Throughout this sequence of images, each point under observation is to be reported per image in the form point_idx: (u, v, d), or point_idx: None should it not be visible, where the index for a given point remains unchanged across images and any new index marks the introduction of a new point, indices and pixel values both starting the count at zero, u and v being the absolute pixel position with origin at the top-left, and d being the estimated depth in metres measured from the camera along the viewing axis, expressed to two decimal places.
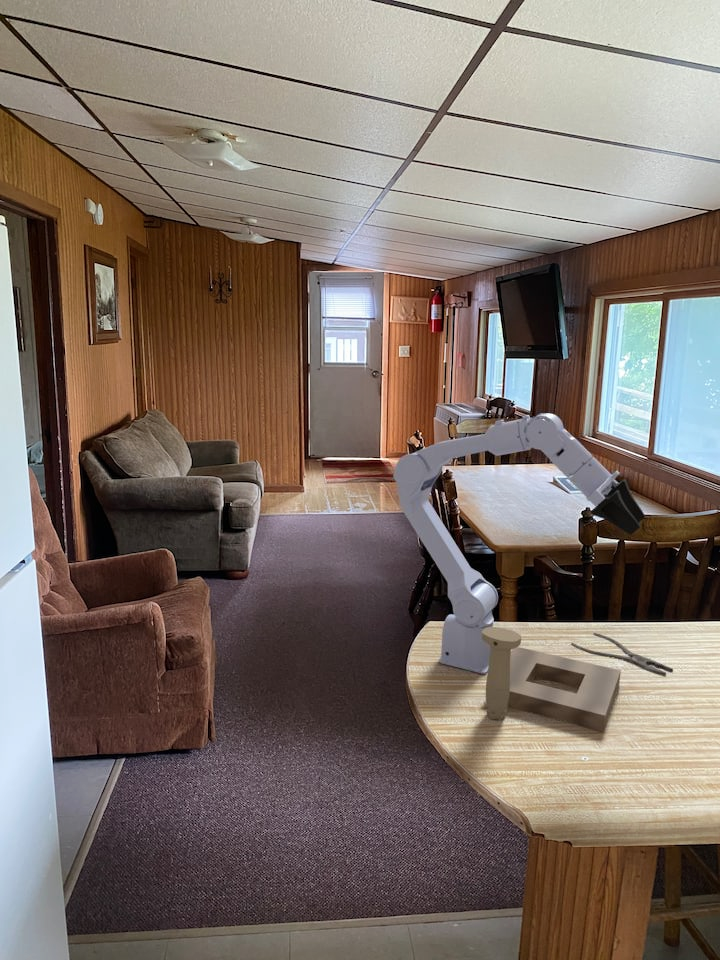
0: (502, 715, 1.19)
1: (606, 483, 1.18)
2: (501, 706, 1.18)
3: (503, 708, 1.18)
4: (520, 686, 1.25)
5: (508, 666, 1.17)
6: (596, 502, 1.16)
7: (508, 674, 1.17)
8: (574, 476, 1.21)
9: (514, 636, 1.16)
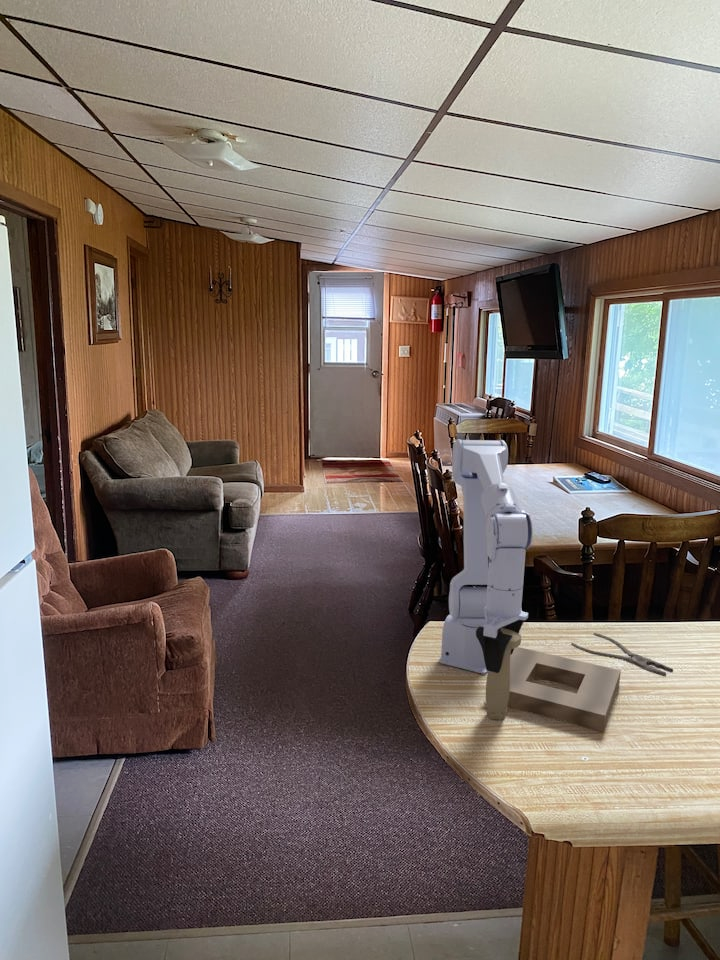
0: (502, 715, 1.19)
1: (509, 621, 1.13)
2: (501, 706, 1.18)
3: (503, 708, 1.18)
4: (520, 686, 1.25)
5: (508, 666, 1.17)
6: (487, 633, 1.10)
7: (508, 674, 1.17)
8: (493, 590, 1.14)
9: (514, 636, 1.16)
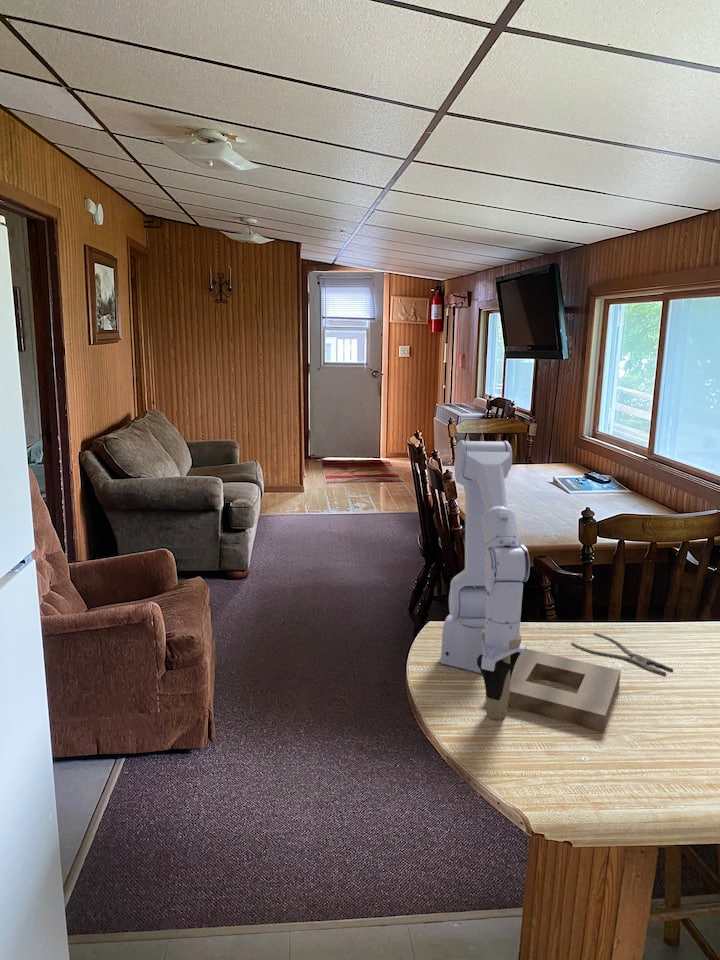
0: (502, 715, 1.19)
1: (507, 653, 1.14)
2: (501, 706, 1.18)
3: (503, 708, 1.18)
4: (520, 686, 1.25)
5: None
6: (485, 666, 1.12)
7: (508, 674, 1.17)
8: (491, 623, 1.15)
9: None
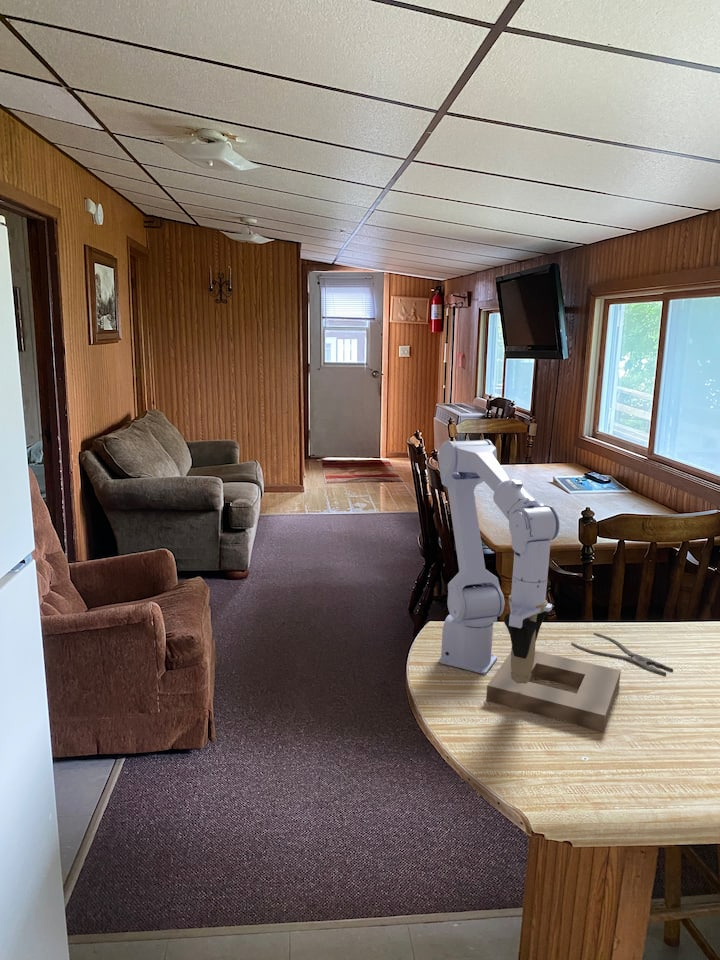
0: (527, 679, 1.21)
1: (534, 611, 1.16)
2: (526, 670, 1.20)
3: (528, 672, 1.21)
4: (520, 686, 1.25)
5: None
6: (512, 624, 1.14)
7: (534, 639, 1.20)
8: (518, 582, 1.17)
9: None
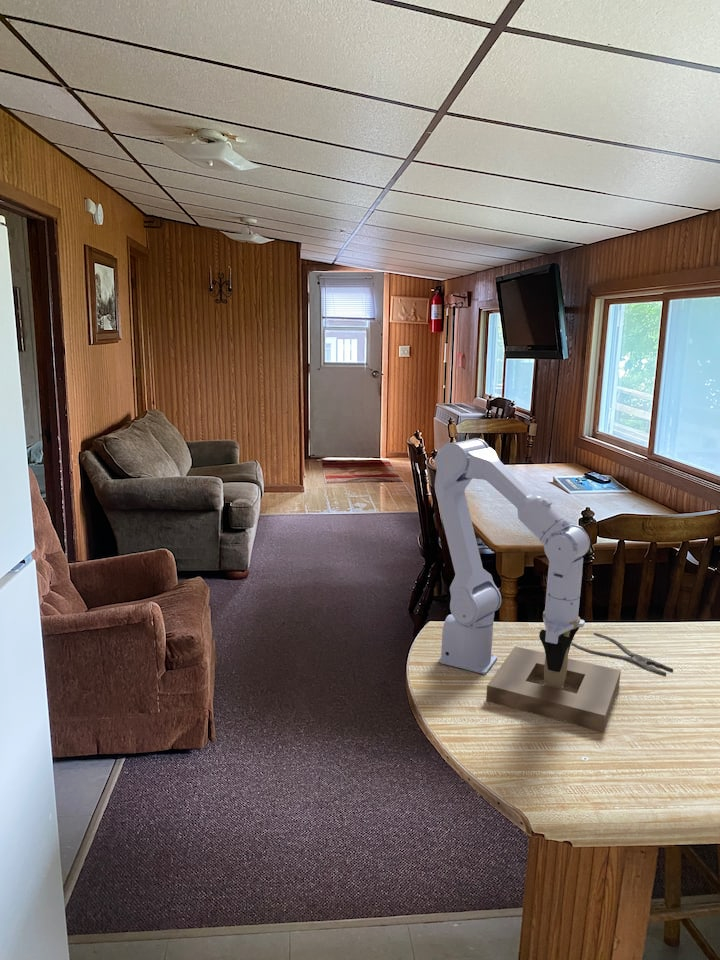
0: None
1: (568, 628, 1.22)
2: (559, 683, 1.26)
3: (561, 685, 1.27)
4: (520, 686, 1.25)
5: None
6: (548, 640, 1.20)
7: (567, 653, 1.26)
8: (552, 599, 1.23)
9: None
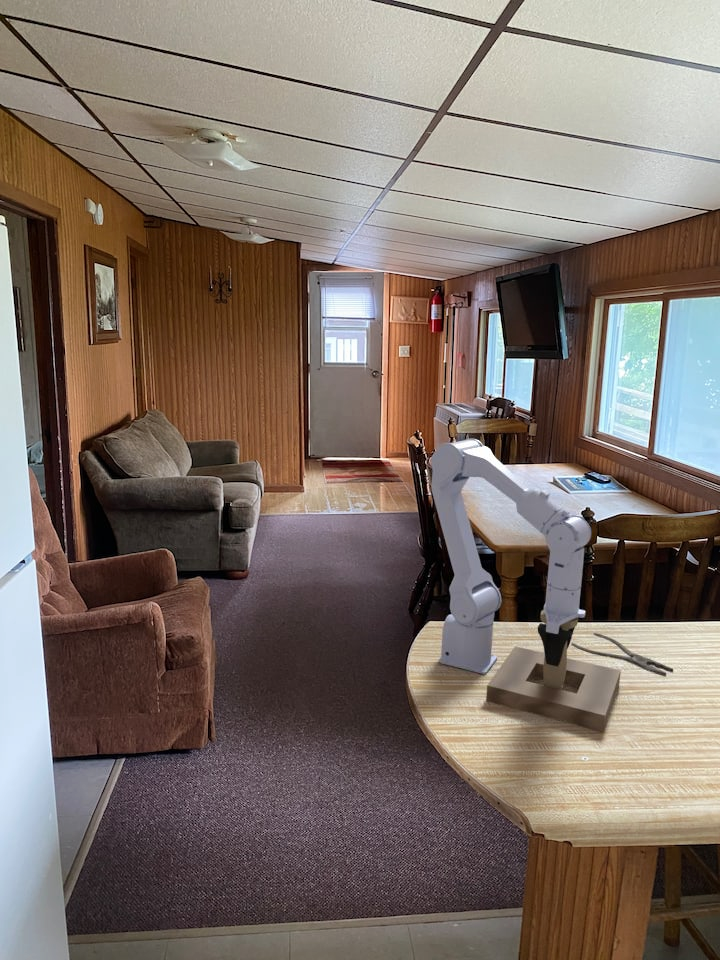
0: None
1: (569, 618, 1.21)
2: (558, 683, 1.26)
3: (561, 685, 1.27)
4: (520, 686, 1.25)
5: (565, 645, 1.25)
6: (549, 630, 1.19)
7: (565, 653, 1.26)
8: (553, 589, 1.22)
9: None
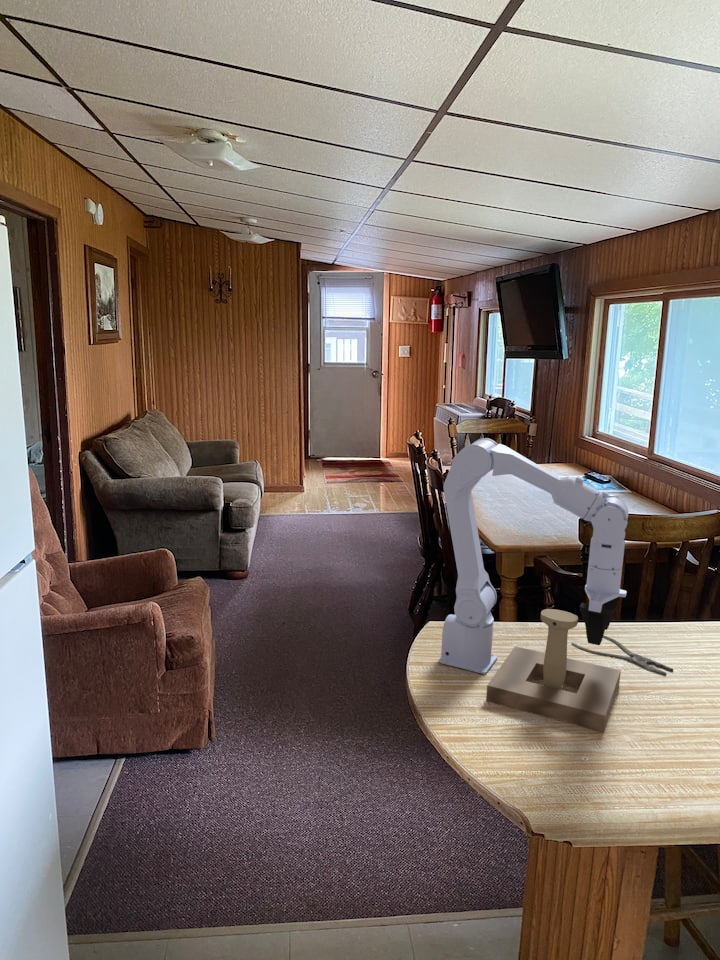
0: None
1: (611, 597, 1.23)
2: (558, 683, 1.26)
3: (561, 685, 1.27)
4: (520, 686, 1.25)
5: (565, 645, 1.25)
6: (592, 608, 1.21)
7: (565, 653, 1.26)
8: (595, 569, 1.24)
9: (571, 617, 1.25)
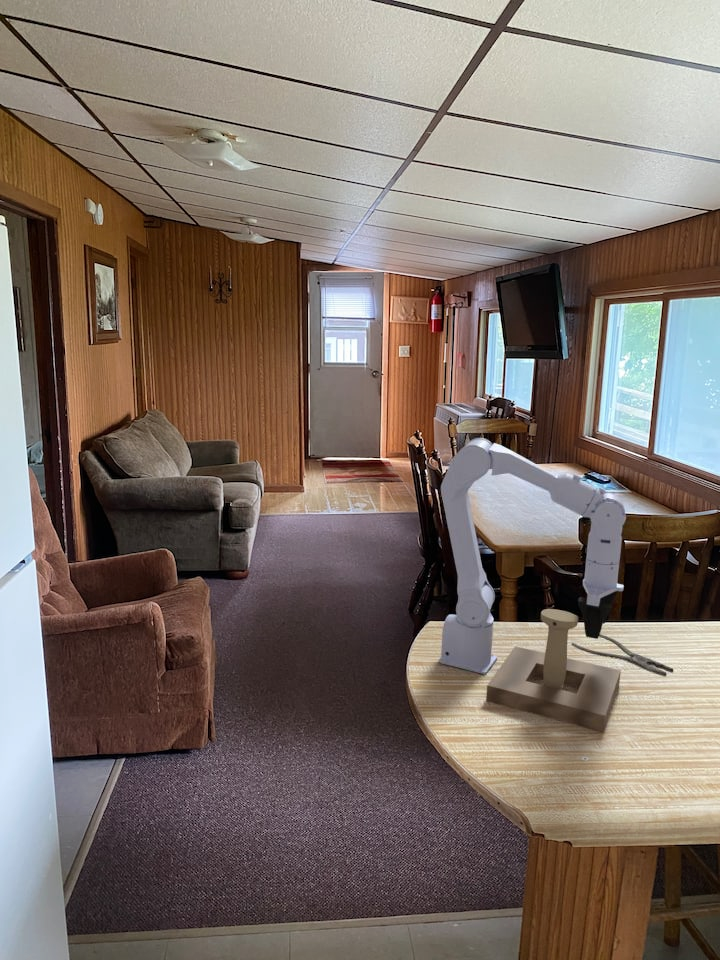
0: None
1: (609, 591, 1.25)
2: (559, 683, 1.26)
3: (561, 685, 1.27)
4: (520, 686, 1.25)
5: (565, 645, 1.25)
6: (590, 602, 1.23)
7: (565, 653, 1.26)
8: (593, 564, 1.27)
9: (571, 617, 1.25)
